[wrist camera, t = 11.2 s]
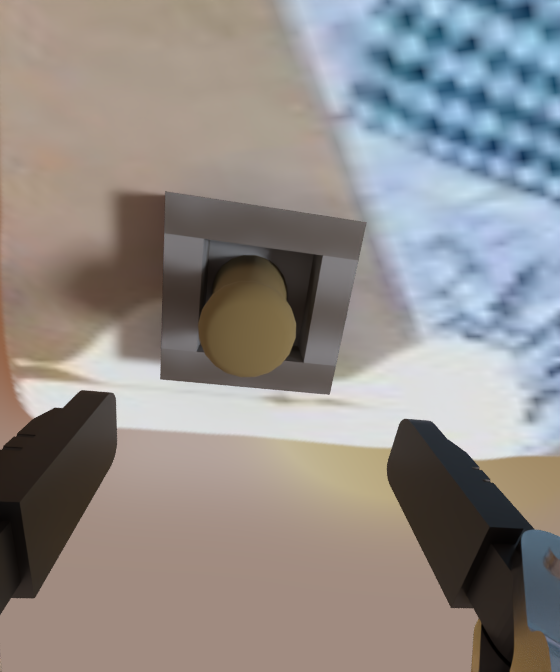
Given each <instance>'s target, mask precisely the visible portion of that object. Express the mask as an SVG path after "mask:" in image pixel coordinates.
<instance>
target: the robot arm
mask: <svg viewBox="0 0 560 672" xmlns="http://www.w3.org/2000/svg"><path fill="white" fill-rule="evenodd" d="M116 447H117V423H116V398H115V395H114V394H113V393H109V392H97V391H85V390H82V391H80V392H79V393H77V394H76V395H75V396H74V397H73V398H72V399H71V400H70V401H69V402H68V403H67V404H66V405H65V406H64V407H63V408H54V409H52V410H50V411H48V412H46V413H44V414H42V415H40V416H38V417H36V418H34V419H33V420H31V421H30V422H29V423H28V424H27V425H26V426H25V427H24V428H23V429H22V430H21V431H19V432H18V433H17V436H16V437H13V438H12V439H11V440H10V441H9V442H8V443H6V444H5V445H4V447H3V449H2V450H0V614H1V613H2V611H3V610H4V608H5V606H6V605H7V603H8V602H9V600H10V599H11V598H35V597H36V595H37V593H38V592H39V590H40V588H41V586H42V584H43V583H44V581H45V579H46V578H47V576H48V574H49V573H50V571H51V569H52V567H53V566H54V564H55V562H56V560H57V559H58V557H59V555H60V553H61V552H62V550H63V548H64V547H65V545H66V543H67V541H68V540H69V538H70V536H71V534H72V533H73V531H74V529H75V527H76V526H77V524H78V522H79V521H80V518H81V517H82V515H83V514H84V512H85V510H86V508H87V507H88V505H89V503H90V501H91V500H92V498H93V496H94V495H95V492H96V491H97V489H98V488H99V486H100V484H101V482H102V481H103V479H104V477H105V475H106V474H107V472H108V470H109V469H110V466H111V465H112V462H113V460H114V457H115V453H116ZM387 476H388V481H389V484H390V486H391V488H392V490H393V492H394V494H395V496H396V498H397V500H398V502H399V504H400V506H401V508H402V510H403V512H404V514H405V516H406V518H407V520H408V522H409V524H410V526H411V528H412V530H413V532H414V534H415V536H416V538H417V540H418V542H419V544H420V546H421V548H422V550H423V552H424V554H425V556H426V558H427V560H428V562H429V564H430V566H431V568H432V570H433V572H434V574H435V576H436V578H437V580H438V582H439V584H440V586H441V588H442V590H443V592H444V595H445V597H446V598H447V600H448V603H449V605H450V606H451V608H474V610H475V612H476V614H477V615H478V617H479V619H478V621H477V622H476V624H475V627H474V634H473V650H472V664H471V672H560V537H559V536H557V535H554V534H552V533H549V532H546V531H541V530H535V529H534V528H533V527H532V526H531V525H530V524H529V523H528V522H527V520H526V519H525V518H524V517H523V516H522V515H521V514H520V512H519V511H518V510H517V509H516V508H515V507H514V506H513V505H512V503H511V502H510V501H509V500H508V499H507V498H506V497H505V496H504V494H503V493H502V492H501V491H500V490H499V489H498V488H497V487H496V485H495V484H494V483H491V482H490V479H489V478H488V476H487V475H486V474H485V473H484V472H483V471H482V470H479V466H478V465H477V464H476V463H475V462H474V461H473V459H472V458H471V457H470V456H469V455H468V454H467V453H466V452H465V451H463V450H462V449H461V448H459V447H458V446H457V445H455V444H454V443H452V442H451V441H450V440H448V439H447V438H446V437H445V436H444V435H443V434H442V432H441V431H440V430H439V429H438V428H437V427H436V425H435V424H434V423H433V422H431V421H425V420H413V419H403V420H402V421H401V422H400V424H399V427H398V430H397V433H396V436H395V440H394V443H393V446H392V449H391V453H390V456H389V459H388V463H387ZM0 672H2V667H1V656H0Z"/></svg>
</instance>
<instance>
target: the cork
mask: <svg viewBox="0 0 560 672" xmlns="http://www.w3.org/2000/svg"><path fill="white" fill-rule="evenodd" d="M198 330H199V340H200V343H201V346H202V348H203V350H204V353H205V355H206V356H207V357H208V358H209V360H210V361H211V362H212V363H213V364H214V365H215V366H216V367H218V368H219V369H221V370H222V371H224V372H226V373H227V374H231V375H235V376H238V377H257V376H260V375H263V374H267V373H269V372H271V371H272V370H274V369H275V368H277V367H278V366H280V365H281V364H282V363H283V361H284V360H285V359H286V358H287V356H288V355H289V354H290V351H291V349H292V346H293V343H294V341H295V338H296V321H295V318H294V315H293V312H292V309H291V307H290V305H289V304H288V302H287V285H286V282H285V278H284V276H283V274H282V273H281V271H280V270H279V268H278V267H277V266H276V265H274V264H273V263H272V262H270V261H269V260H268V259H265V258H263V257H260V256H257V255H242V256H239V257H236V258H233V259H231V260H230V261H228V262H227V263H225V264H224V265H223V266H222V267H221V268H220V270H219V271H218V273H217V274H216V276H215V279H214V282H213V286H212V296H211V297H210V299H209V300H208V302H207V303H206V304H205V306H204V307H203V309H202V312H201V315H200V319H199V322H198Z"/></svg>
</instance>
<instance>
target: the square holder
mask: <svg viewBox="0 0 560 672" xmlns="http://www.w3.org/2000/svg"><path fill="white" fill-rule="evenodd" d="M365 227H366V222H361V221H354V220H348V219H341V218H335V217H328V216H322V215H315V214H309V213H302V212H296V211H289V210H283V209H276V208H270V207H263V206H257V205H250V204H244V203H237V202H231V201H224V200H218V199H211V198H205V197H198V196H192V195H185V194H179V193H173V192H166V191H165V223H164V261H163V299H162V337H161V374H160V379H163V380H174V381H185V382H196V383H207V384H218V385H229V386H240V387H251V388H262V389H273V390H284V391H295V392H306V393H317V394H328V395H330V391H331V386H332V381H333V376H334V372H335V367H336V362H337V358H338V353H339V348H340V344H341V339H342V334H343V330H344V325H345V320H346V316H347V311H348V306H349V302H350V297H351V292H352V288H353V283H354V278H355V274H356V269H357V264H358V260H359V255H360V250H361V245H362V241H363V236H364V231H365ZM242 255H257V256H260V257H263V258H265V259H268V260H269V261H270V262H272V263H273V264H274V265H276V266H277V267H278V268H279V270H280V271H281V273H282V274H283V276H284V278H285V282H286V285H287V302H288V304H289V305H290V307H291V309H292V312H293V315H294V318H295V321H296V338H295V341H294V343H293V346H292V349H291V351H290V354H289V355H288V356H287V358H286V359H285V360H284V361H283V363H282V364H281V365H280V366H278V367H277V368H275V369H274V370H272V371H271V372H269V373H267V374H263V375H260V376H257V377H238V376H235V375H231V374H227V373H226V372H224V371H222V370H221V369H219V368H218V367H216V366H215V365H214V364H213V363H212V362H211V361H210V360H209V358H208V357H207V356H206V355H205V353H204V350H203V348H202V346H201V343H200V340H199V330H198V322H199V319H200V315H201V312H202V309H203V307H204V306H205V304H206V303H207V302H208V300H209V299H210V297H211V296H212V286H213V282H214V279H215V276H216V274H217V273H218V271H219V270H220V268H221V267H222V266H223V265H224V264H225V263H227V262H228V261H230V260H231V259H233V258H236V257H239V256H242Z"/></svg>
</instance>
